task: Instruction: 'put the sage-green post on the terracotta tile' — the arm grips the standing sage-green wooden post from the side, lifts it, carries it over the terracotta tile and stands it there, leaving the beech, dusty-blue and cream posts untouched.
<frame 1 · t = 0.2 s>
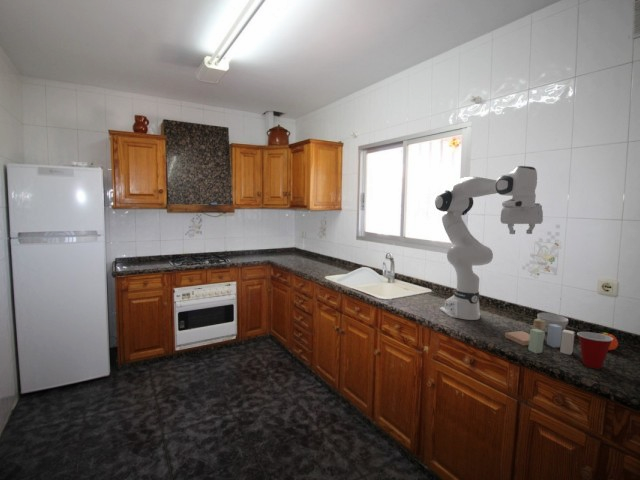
hand: (520, 234, 153), 48 cm above the worktop, tool pointing down, fingers open, 8 cm apart
sage green post: (535, 351, 143), on the worktop
beech post: (538, 339, 156), on the worktop
clementine: (605, 349, 148), on the worktop
dusty blue post: (553, 345, 150), on the worktop
cream post: (566, 352, 142), on the worktop
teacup: (552, 332, 166), on the worktop
terracotta tile: (522, 340, 155), on the worktop
plastic cup: (591, 365, 131), on the worktop
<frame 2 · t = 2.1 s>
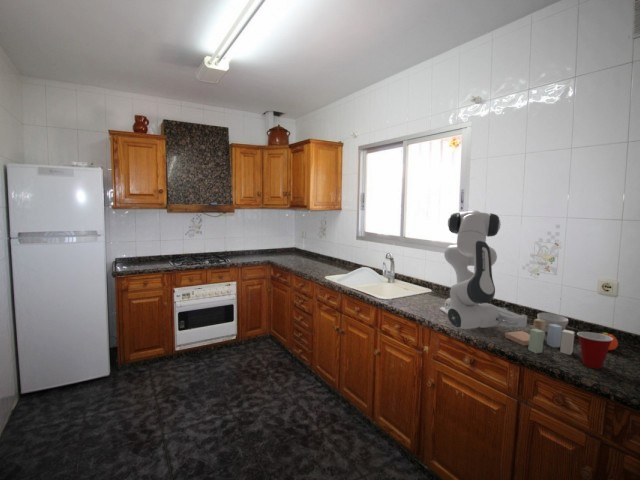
hand: (515, 313, 138), 17 cm above the worktop, tool horizontal, fingers open, 8 cm apart
nothing on the worktop moved.
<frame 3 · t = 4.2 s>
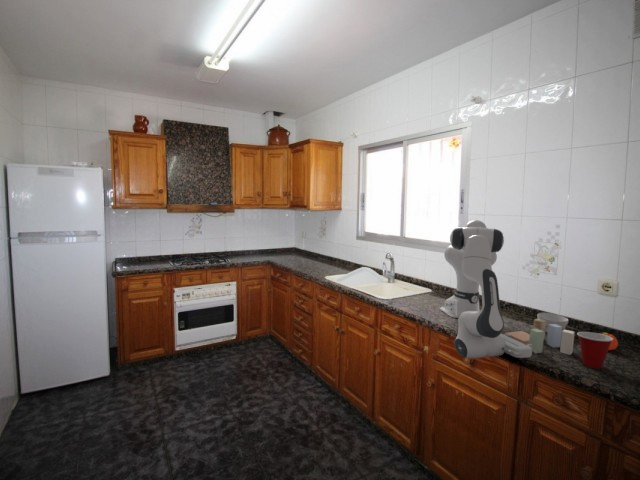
hand: (520, 341, 140), 5 cm above the worktop, tool horizontal, fingers open, 8 cm apart
nothing on the worktop moved.
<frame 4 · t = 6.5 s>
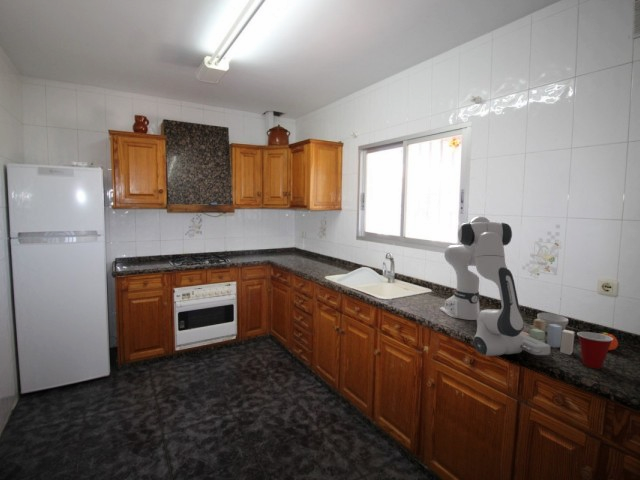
hand: (537, 339, 143), 5 cm above the worktop, tool horizontal, fingers closed on sage green post, 3 cm apart
sage green post: (535, 351, 143), on the worktop, touching gripper
everything else where it was.
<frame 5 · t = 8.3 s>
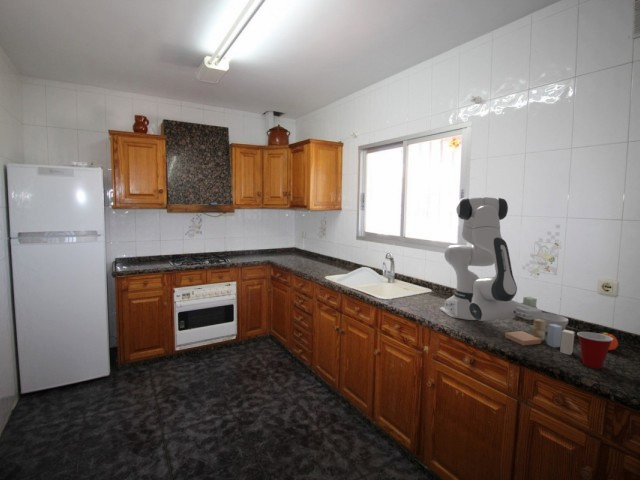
hand: (530, 306, 150), 16 cm above the worktop, tool horizontal, fingers closed on sage green post, 3 cm apart
sage green post: (528, 318, 150), point 11 cm above the worktop, touching gripper
everything else where it was.
when the fingers open (9 cm above the worktop, at t = 10.5 s): sage green post drops 1 cm, resting on terracotta tile.
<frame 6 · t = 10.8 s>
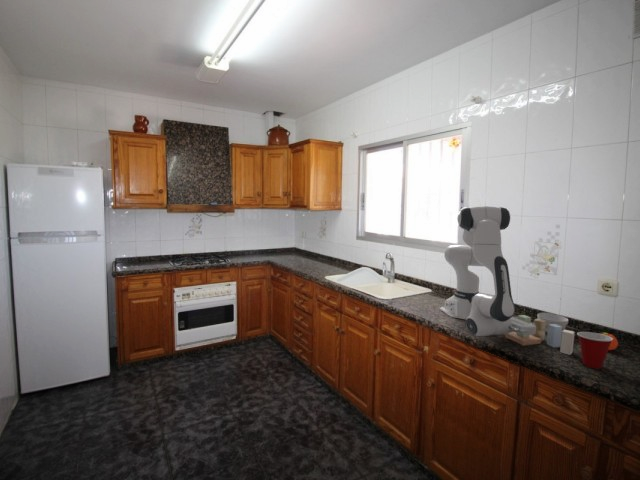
hand: (525, 321, 154), 8 cm above the worktop, tool horizontal, fingers open, 6 cm apart
sage green post: (522, 335, 155), point 2 cm above the worktop, touching terracotta tile
everything else where it was.
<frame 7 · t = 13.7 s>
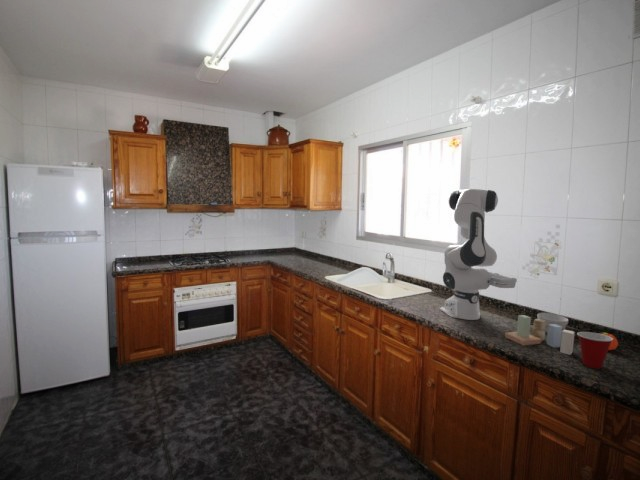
hand: (506, 277, 149), 29 cm above the worktop, tool horizontal, fingers open, 8 cm apart
nothing on the worktop moved.
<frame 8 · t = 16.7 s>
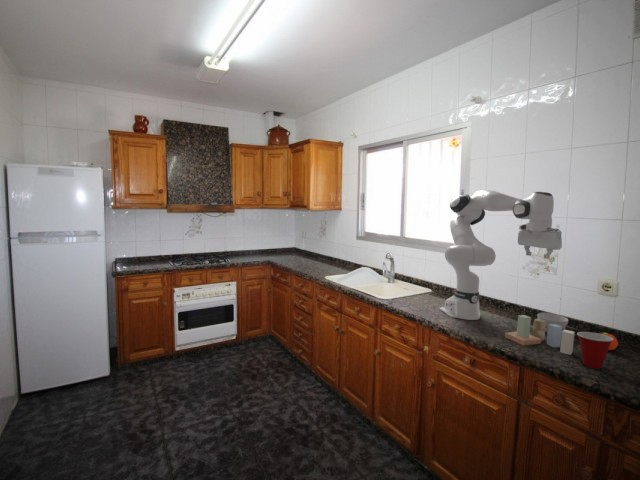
hand: (537, 257, 159), 37 cm above the worktop, tool pointing down, fingers open, 8 cm apart
nothing on the worktop moved.
at the end: sage green post inside the target area on the terracotta tile (0.0 cm from its centre), point 2.0 cm above the terracotta tile's base; sage green post tilted 0°; dusty blue post moved 0.0 cm from its start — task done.
